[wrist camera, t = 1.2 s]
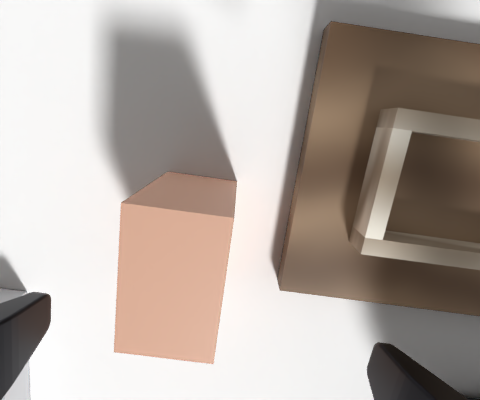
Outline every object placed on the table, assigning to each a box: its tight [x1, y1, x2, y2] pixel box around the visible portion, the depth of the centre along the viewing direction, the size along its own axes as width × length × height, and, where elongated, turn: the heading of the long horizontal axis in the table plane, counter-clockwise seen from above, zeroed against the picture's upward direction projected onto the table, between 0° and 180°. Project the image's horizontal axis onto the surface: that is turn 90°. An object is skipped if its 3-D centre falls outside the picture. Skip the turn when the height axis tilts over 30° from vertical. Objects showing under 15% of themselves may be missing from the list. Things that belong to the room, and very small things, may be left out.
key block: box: [114, 172, 237, 364], centre depth 17 cm, size 7×4×8 cm, turn 172°
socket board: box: [277, 21, 480, 316], centre depth 18 cm, size 16×18×4 cm
